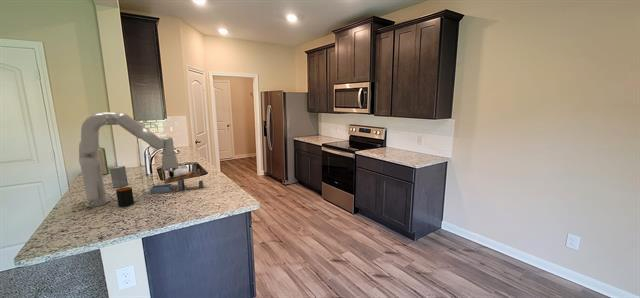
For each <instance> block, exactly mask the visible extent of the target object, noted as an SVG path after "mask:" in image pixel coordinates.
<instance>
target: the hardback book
mask: <svg viewBox="0 0 640 298" xmlns="http://www.w3.org/2000/svg"><path fill="white" fill-rule="evenodd" d="M105 149H106V148H104V147H101V146H99V150H98V159H99V161H100V163H101V172H102V176H103V175H109V174H110V171H109V167H108V160H107V155H106V154H107V153H106V150H105Z"/></svg>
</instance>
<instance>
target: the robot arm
mask: <svg viewBox="0 0 640 298" xmlns="http://www.w3.org/2000/svg"><path fill="white" fill-rule="evenodd" d="M114 125H115V126H120V127H121V128H123V130H125V131H127V132H128V133H130V135H133V136H135V138H138V139H140V140H141V141H143V142H145V143H146V144H147V145H149V147H150V148H153V149H154V150H162V152H161V153H160V155H162V156H161V168H162V171H166V172H167V173H168V176H169V177H173V176H175V172H174V171H176V170H178V169H180V168H179V162H178V158H177V155H176V154H175V146H174V139H173V137H170V136H165V137H164V136H163V137H159V136H157V135H156V134H154V133H153V132H151V131H150V130H149V129H148V128H146V127H145V126H144V125H142V124H141V123H139V122H138V121H137V120H135V119H134V118H133V117H131V116H130V115H129V114H127V113H125V112H94V113H93V114H91V115H90V116H89V117H87V118H86V119H85V120H84V121H83V122H82V125H81V130H80V131H81V132H80V141H79V143H78V161H79V162H78V163H79V165H80V170H81V176H82V180H83V186H84V191H85V195H86V201H87V202H85V203H84V207H87V208H92V207H98V206H99V207H100V206H102V205H105V204H108V203H109V202H110V198H108V197H107V196H106V190H105V183H104V179H103V175H102V172H101V163H100V161H99V159H98V150H99V147H100V140H99V139H100V138H99V135H100V129H101V128H102V127H103V126H114Z"/></svg>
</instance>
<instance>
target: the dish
mask: <svg viewBox="0 0 640 298" xmlns="http://www.w3.org/2000/svg"><path fill="white" fill-rule="evenodd" d="M172 188H173V184H172V183H168V184H165V183H163V184H154V185H152V186H151V187H150V188H149V195H154V194H155V195H156V193H157V194H164V193H165V192H166V193H171V191H172V190H173V189H172ZM171 189H172V190H171ZM166 193H165V194H166Z"/></svg>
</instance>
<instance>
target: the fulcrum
mask: <svg viewBox="0 0 640 298" xmlns="http://www.w3.org/2000/svg"><path fill="white" fill-rule="evenodd" d="M176 182H177V189H175V193H179V192H178V191H183V192H186V190H187V188H188V187H187V186H189V185H188V184H187V185H186V184H185V180H177V181H176ZM185 189H186V190H185Z"/></svg>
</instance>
